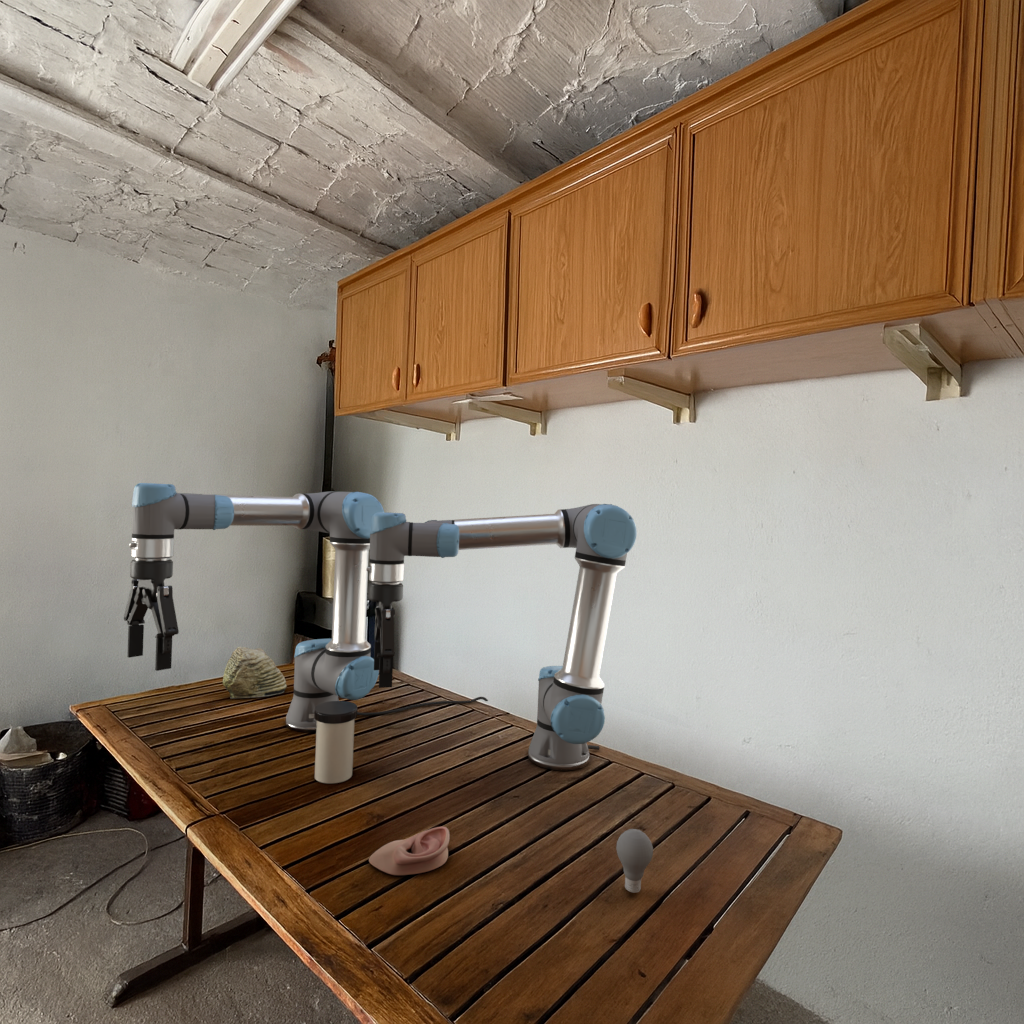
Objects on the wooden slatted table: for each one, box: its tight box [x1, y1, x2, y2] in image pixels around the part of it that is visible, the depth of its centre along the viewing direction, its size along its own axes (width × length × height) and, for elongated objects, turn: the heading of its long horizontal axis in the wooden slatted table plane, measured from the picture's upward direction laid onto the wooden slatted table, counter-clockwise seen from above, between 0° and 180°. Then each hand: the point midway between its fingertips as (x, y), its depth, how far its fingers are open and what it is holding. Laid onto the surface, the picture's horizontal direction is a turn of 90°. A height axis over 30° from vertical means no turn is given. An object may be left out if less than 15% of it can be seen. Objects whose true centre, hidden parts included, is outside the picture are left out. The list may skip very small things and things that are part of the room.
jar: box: [313, 718, 356, 784], centre depth 144 cm, size 8×8×15 cm
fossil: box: [222, 646, 288, 699], centre depth 198 cm, size 9×18×15 cm, turn 132°
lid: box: [314, 700, 359, 724], centre depth 144 cm, size 9×9×2 cm
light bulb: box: [615, 828, 654, 894], centre depth 106 cm, size 6×6×10 cm
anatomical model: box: [368, 826, 451, 876], centre depth 112 cm, size 13×4×12 cm
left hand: (148, 662), depth 129 cm, fingers open, 13 cm apart
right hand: (382, 678), depth 140 cm, fingers open, 13 cm apart
